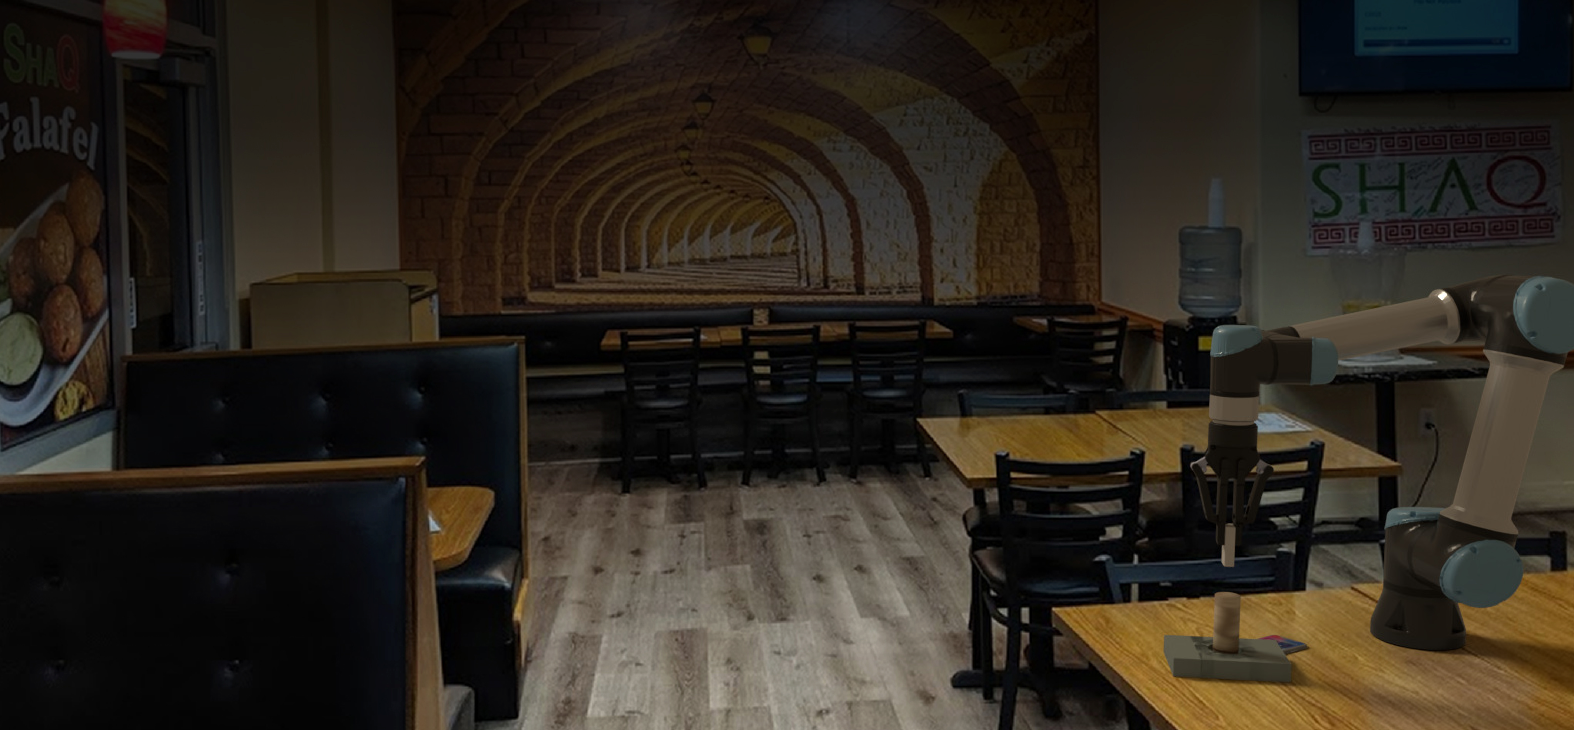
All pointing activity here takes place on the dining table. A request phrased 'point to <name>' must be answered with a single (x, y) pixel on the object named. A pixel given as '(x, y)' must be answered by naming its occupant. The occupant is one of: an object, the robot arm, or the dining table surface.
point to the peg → (1226, 623)
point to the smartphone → (1286, 643)
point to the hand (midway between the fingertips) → (1227, 564)
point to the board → (1226, 659)
